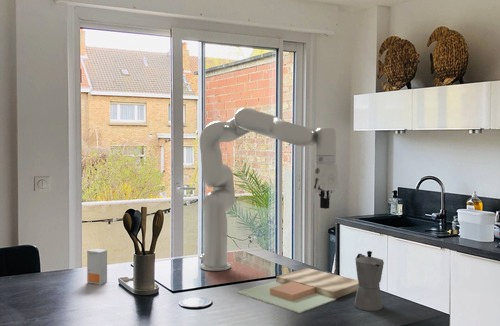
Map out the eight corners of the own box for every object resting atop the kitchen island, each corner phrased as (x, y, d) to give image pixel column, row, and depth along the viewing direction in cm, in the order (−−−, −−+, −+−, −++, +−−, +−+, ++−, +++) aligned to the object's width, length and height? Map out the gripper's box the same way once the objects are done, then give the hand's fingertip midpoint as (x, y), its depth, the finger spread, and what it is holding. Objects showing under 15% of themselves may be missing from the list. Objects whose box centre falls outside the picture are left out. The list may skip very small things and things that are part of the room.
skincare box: (86, 282, 191) (86, 250, 190) (94, 279, 194) (94, 248, 194) (100, 284, 188) (100, 252, 188) (107, 281, 192) (107, 249, 192)
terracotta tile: (269, 294, 178) (269, 288, 178) (292, 287, 187) (292, 281, 187) (292, 300, 171) (292, 294, 171) (314, 293, 180) (314, 287, 180)
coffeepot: (391, 312, 163) (393, 255, 162) (363, 314, 160) (364, 256, 159) (369, 297, 178) (370, 244, 177) (343, 298, 175) (344, 245, 174)
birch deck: (276, 282, 193) (276, 276, 193) (307, 274, 206) (307, 267, 206) (333, 299, 175) (333, 291, 175) (363, 288, 187) (363, 281, 187)
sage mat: (237, 292, 181) (237, 291, 181) (274, 282, 194) (274, 281, 194) (299, 313, 161) (299, 312, 161) (336, 300, 174) (336, 298, 174)
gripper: (321, 161, 190) (320, 211, 191) (345, 160, 200) (344, 207, 201) (305, 160, 195) (304, 209, 196) (329, 159, 205) (328, 205, 207)
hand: (324, 208), depth 199 cm, fingers closed
